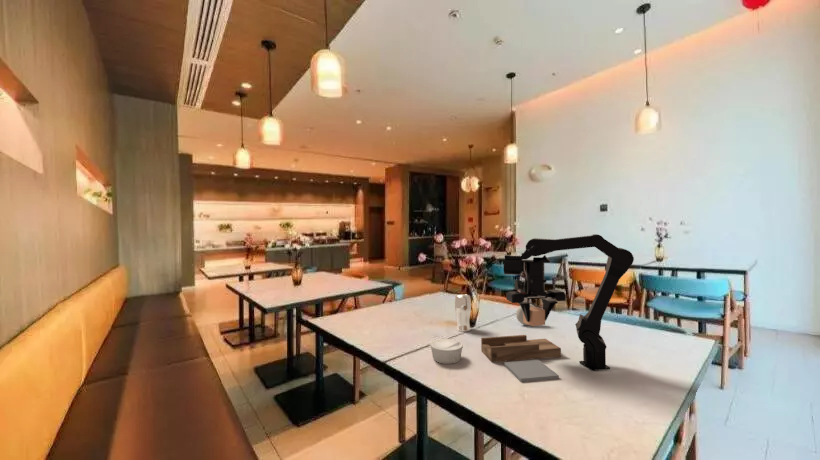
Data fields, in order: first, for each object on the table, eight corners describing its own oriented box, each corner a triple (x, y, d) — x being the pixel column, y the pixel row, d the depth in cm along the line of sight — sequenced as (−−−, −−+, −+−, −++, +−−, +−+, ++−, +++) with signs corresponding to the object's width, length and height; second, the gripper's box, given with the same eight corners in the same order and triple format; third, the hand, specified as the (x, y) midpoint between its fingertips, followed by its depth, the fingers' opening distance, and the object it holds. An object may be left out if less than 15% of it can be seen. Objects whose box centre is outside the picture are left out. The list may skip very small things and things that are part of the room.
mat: (558, 378, 101) (558, 375, 101) (520, 382, 99) (520, 378, 99) (538, 362, 113) (538, 359, 113) (503, 365, 111) (503, 362, 111)
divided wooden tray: (561, 356, 117) (560, 342, 117) (491, 362, 114) (491, 347, 114) (545, 346, 127) (545, 333, 127) (481, 351, 124) (481, 337, 124)
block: (545, 324, 115) (544, 309, 115) (533, 326, 113) (532, 311, 113) (535, 320, 119) (534, 306, 119) (523, 322, 118) (523, 308, 118)
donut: (537, 324, 155) (537, 302, 155) (540, 326, 151) (539, 304, 151) (515, 324, 156) (515, 302, 156) (517, 326, 152) (516, 304, 152)
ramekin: (462, 366, 111) (461, 350, 111) (428, 364, 113) (428, 349, 113) (463, 353, 122) (463, 339, 122) (432, 352, 124) (432, 337, 124)
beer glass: (452, 328, 151) (451, 295, 151) (465, 326, 154) (464, 293, 154) (461, 333, 145) (460, 298, 145) (474, 330, 148) (473, 296, 148)
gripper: (549, 271, 124) (550, 313, 124) (500, 273, 122) (501, 316, 122) (566, 275, 113) (567, 322, 113) (512, 278, 111) (513, 325, 111)
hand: (536, 321), depth 115 cm, fingers closed on block, 5 cm apart
